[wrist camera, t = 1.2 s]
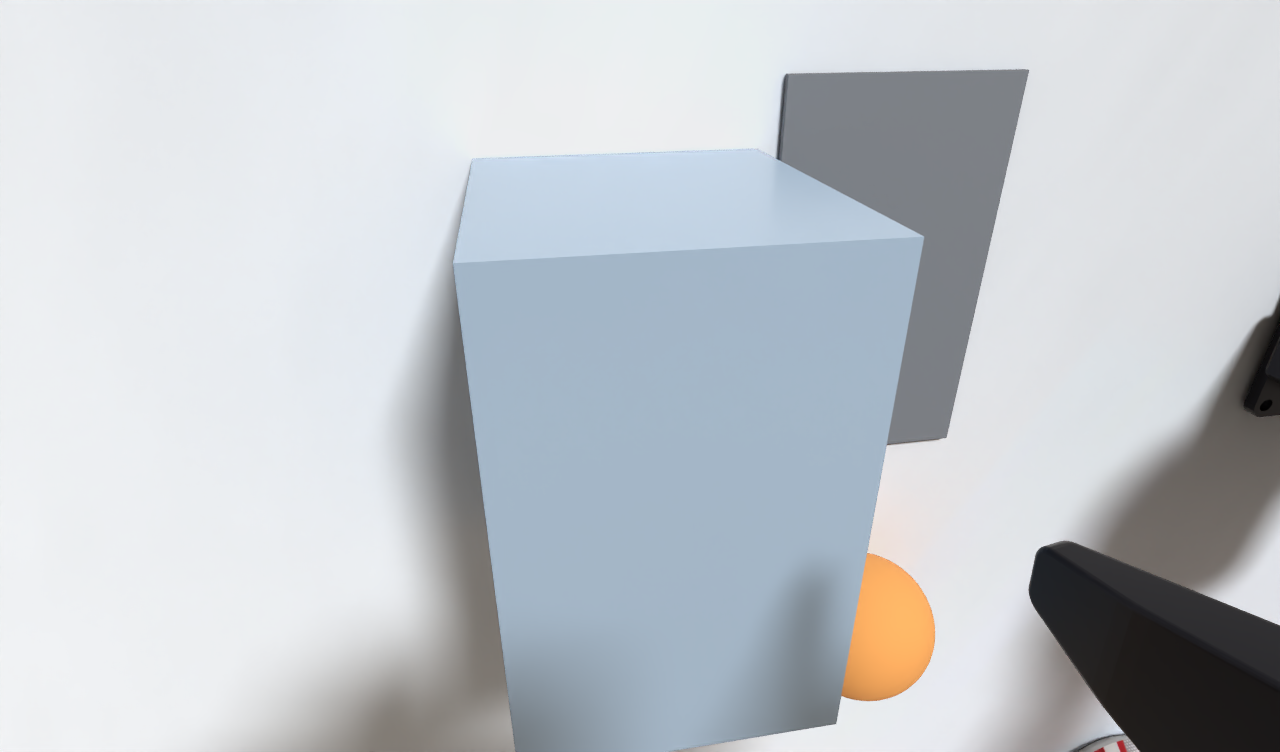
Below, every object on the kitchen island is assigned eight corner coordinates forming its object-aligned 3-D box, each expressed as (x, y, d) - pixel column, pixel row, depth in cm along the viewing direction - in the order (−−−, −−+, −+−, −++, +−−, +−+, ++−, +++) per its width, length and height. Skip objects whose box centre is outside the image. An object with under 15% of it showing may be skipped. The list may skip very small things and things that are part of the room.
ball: (901, 516, 27) (979, 614, 22) (881, 614, 29) (948, 721, 25) (774, 531, 26) (829, 636, 22) (764, 631, 28) (812, 744, 24)
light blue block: (757, 148, 20) (924, 236, 12) (733, 506, 25) (836, 723, 17) (472, 159, 18) (453, 263, 11) (512, 530, 24) (518, 776, 16)
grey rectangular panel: (1024, 69, 20) (1029, 69, 20) (943, 434, 25) (946, 437, 25) (785, 73, 19) (788, 74, 19) (754, 454, 24) (756, 457, 24)
